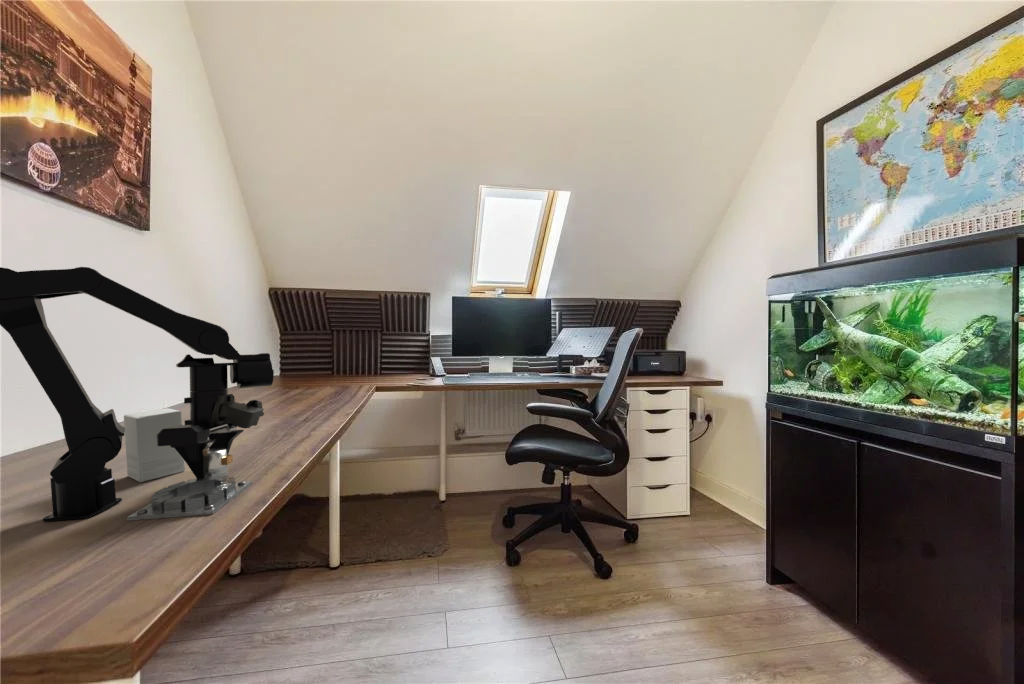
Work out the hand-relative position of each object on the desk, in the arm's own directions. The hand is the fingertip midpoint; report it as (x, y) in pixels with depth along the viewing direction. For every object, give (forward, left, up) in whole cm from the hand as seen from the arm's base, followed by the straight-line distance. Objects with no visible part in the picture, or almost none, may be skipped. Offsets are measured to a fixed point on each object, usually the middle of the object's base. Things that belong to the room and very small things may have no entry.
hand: (210, 473), depth 75 cm
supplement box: (-15, +8, -2) cm, 17 cm away
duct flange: (+2, -8, -2) cm, 8 cm away
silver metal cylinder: (0, 0, -2) cm, 2 cm away
